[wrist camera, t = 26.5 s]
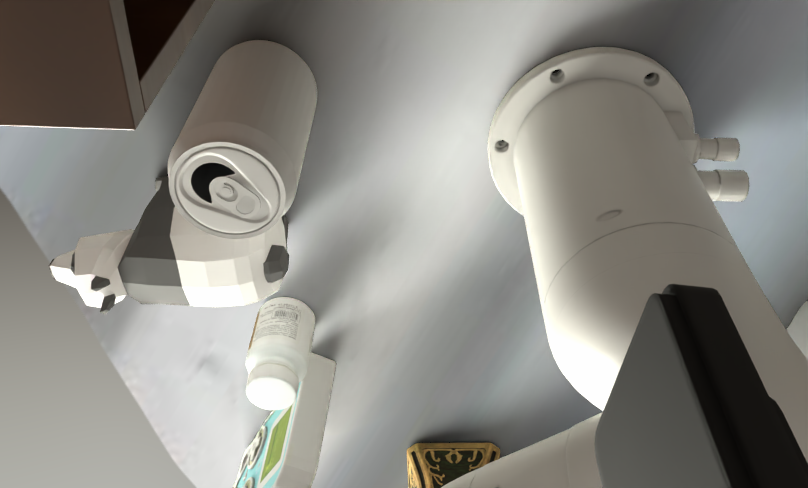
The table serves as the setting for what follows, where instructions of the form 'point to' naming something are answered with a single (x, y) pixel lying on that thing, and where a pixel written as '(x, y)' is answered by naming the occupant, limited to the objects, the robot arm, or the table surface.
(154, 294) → the giant panda
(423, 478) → the decorative box
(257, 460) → the handheld gaming console
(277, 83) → the beverage can
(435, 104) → the table surface
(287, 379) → the pill bottle
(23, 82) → the cabinet
